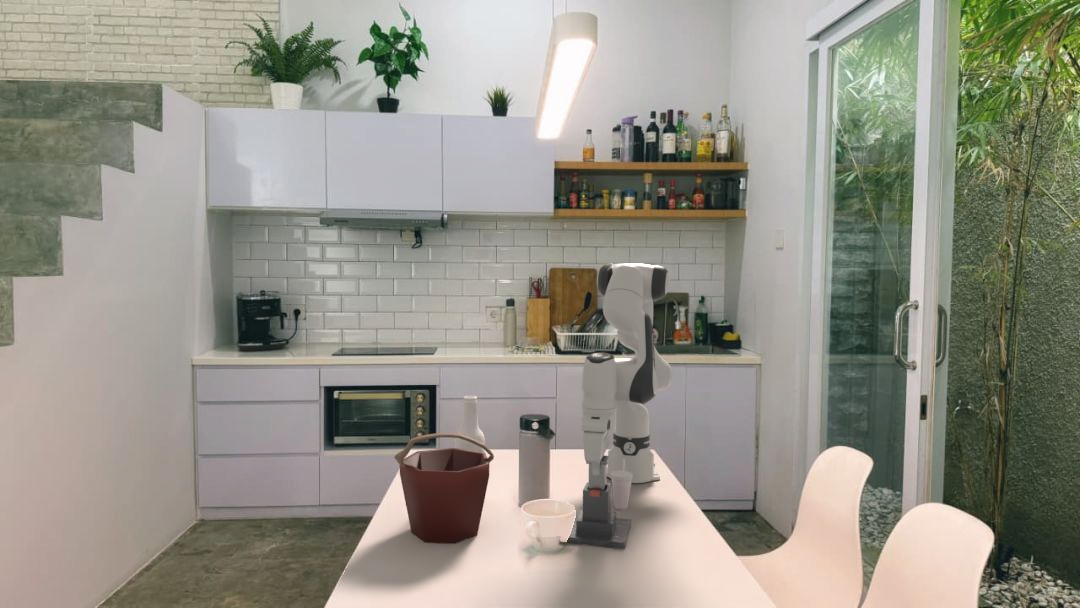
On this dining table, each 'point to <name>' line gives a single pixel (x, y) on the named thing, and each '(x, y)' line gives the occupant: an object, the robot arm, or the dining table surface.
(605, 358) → the robot arm
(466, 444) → the white bottle
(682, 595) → the dining table surface
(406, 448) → the bucket
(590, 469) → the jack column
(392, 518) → the dining table surface
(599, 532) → the base
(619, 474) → the smoothie
